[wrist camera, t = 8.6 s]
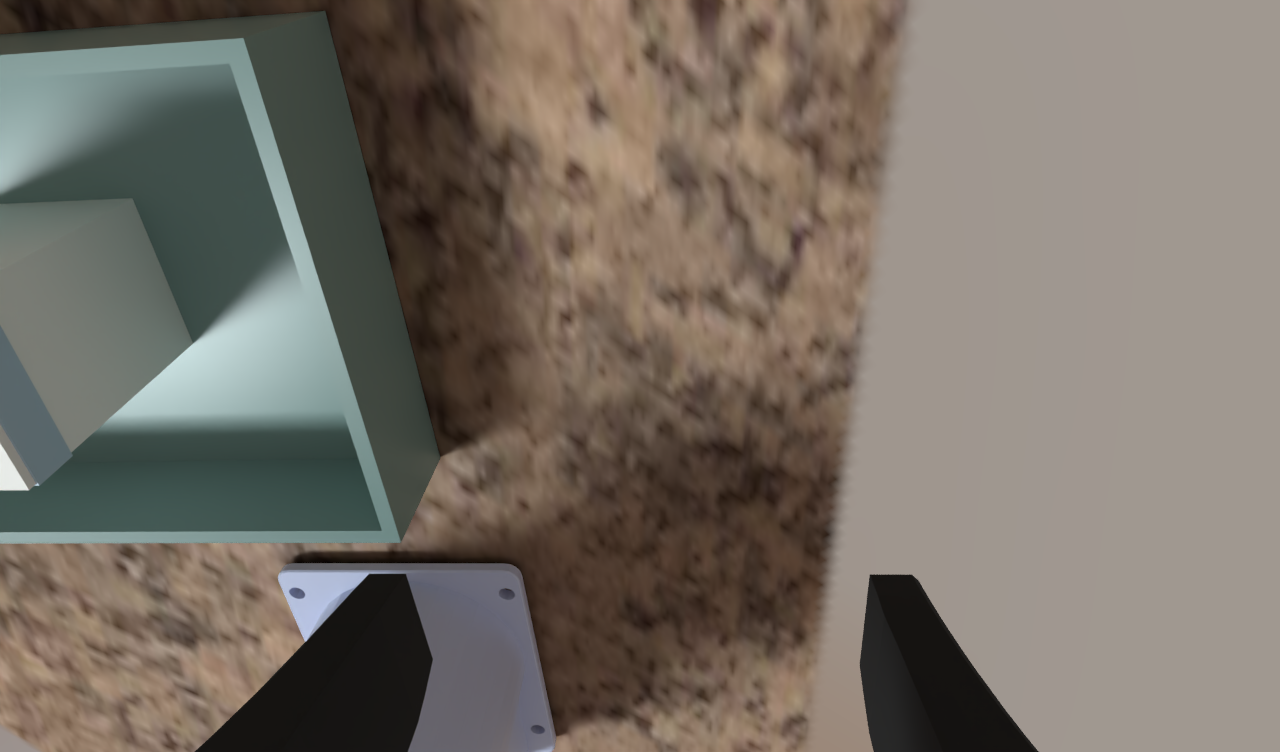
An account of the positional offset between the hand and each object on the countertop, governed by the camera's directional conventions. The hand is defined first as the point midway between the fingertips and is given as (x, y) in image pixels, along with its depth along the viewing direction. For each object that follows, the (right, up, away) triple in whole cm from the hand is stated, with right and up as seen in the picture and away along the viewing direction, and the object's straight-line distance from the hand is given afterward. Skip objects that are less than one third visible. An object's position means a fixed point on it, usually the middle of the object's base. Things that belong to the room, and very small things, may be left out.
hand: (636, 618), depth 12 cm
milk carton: (-14, +6, +8) cm, 17 cm away
